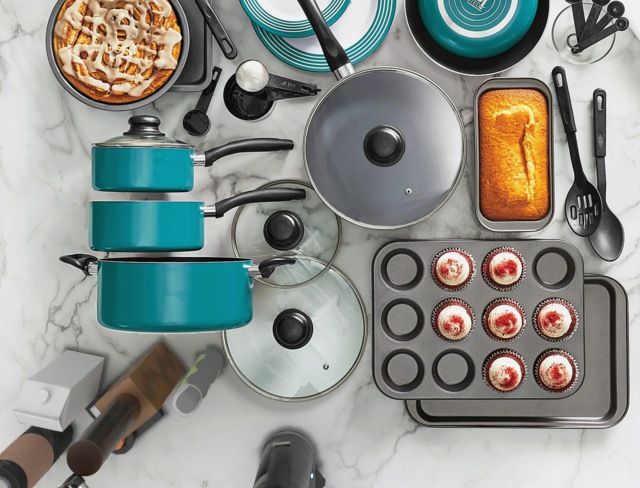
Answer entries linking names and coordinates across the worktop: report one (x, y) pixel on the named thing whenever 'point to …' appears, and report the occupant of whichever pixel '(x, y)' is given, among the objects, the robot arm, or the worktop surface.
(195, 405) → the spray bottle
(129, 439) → the scale
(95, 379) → the milk carton
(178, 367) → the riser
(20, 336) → the worktop surface
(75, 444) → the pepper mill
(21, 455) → the travel mug
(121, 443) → the button
